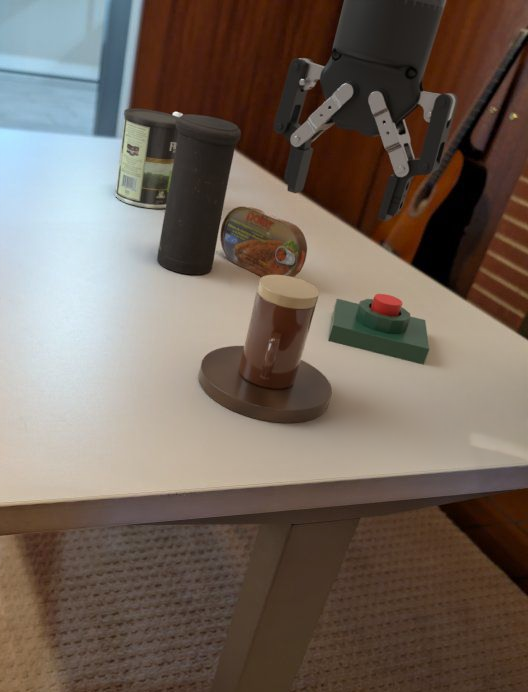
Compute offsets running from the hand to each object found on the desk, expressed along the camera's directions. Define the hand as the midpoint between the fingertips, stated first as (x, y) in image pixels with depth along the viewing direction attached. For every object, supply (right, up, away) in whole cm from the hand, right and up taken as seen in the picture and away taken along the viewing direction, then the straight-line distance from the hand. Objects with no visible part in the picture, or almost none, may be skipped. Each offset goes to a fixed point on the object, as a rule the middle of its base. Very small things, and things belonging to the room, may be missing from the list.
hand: (338, 204), depth 66 cm
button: (+12, -4, +30) cm, 32 cm away
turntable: (-5, -15, +14) cm, 21 cm away
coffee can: (-21, +22, +68) cm, 74 cm away
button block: (+11, -7, +32) cm, 34 cm away
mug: (-5, -14, +12) cm, 19 cm away
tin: (-3, +5, +46) cm, 46 cm away
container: (-14, +5, +43) cm, 45 cm away
